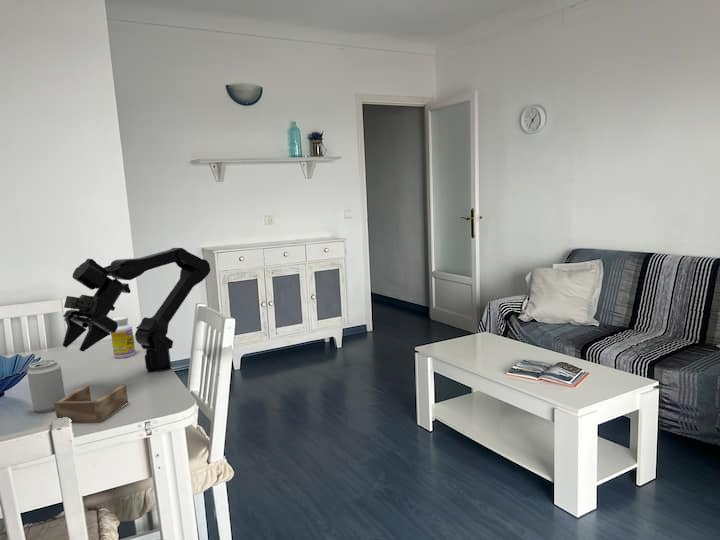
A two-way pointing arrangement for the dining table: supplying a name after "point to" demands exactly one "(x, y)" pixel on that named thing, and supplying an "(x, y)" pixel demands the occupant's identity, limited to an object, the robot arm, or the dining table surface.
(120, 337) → the supplement bottle
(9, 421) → the dining table surface
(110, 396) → the u rest
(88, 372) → the dining table surface
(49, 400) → the can
